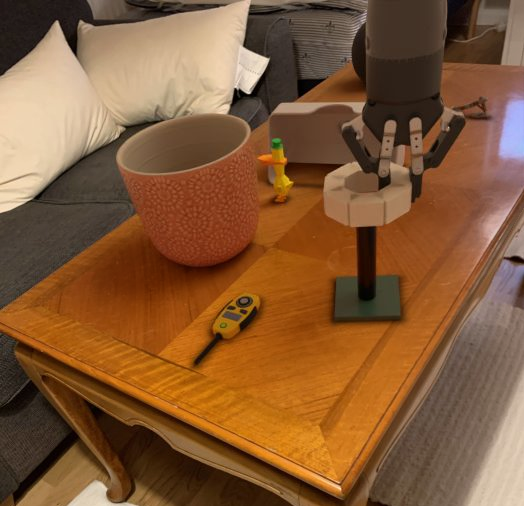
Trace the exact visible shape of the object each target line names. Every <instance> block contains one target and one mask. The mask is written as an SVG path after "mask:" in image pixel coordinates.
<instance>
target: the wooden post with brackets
mask: <svg viewBox="0 0 524 506" xmlns="http://www.w3.org/2000/svg"><path fill="white" fill-rule="evenodd" d="M488 101H489V97H487V96H481V95H480V96H479V97H478V99H477V100H474V101H471V102H468V103H466V104H464V105H460V106H456V105H453V106H451V107H450V108H449V109H451V110H455V109H461V110H462V111H466V110H467V111H468V110H469V109H472V108H475V107H478V108H479V109H481V110H482V112H480V111H478V112H474V113H473V114H472V115H471V117H472V118H478V119H479V118H481V117H482V116H484V118H485V119H488V118H489V117H490V115H489V110H488V109H487V106H486V105H487V104H486V102H488Z"/></svg>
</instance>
